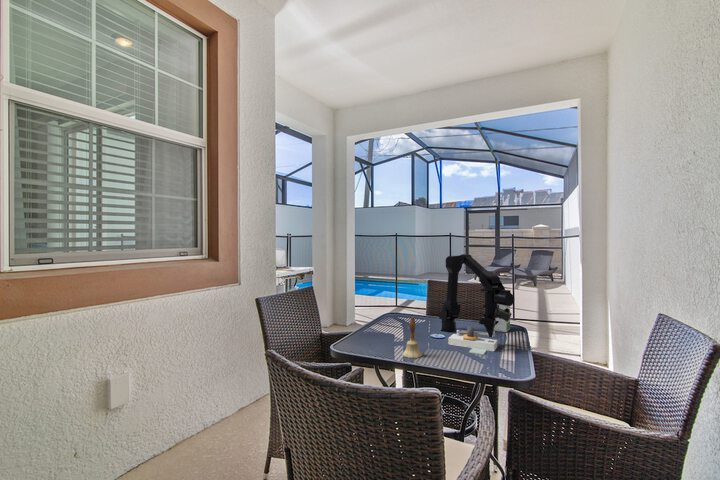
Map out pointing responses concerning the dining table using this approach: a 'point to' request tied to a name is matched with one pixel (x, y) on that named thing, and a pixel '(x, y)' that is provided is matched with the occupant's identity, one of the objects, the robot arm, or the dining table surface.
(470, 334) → the plug
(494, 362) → the dining table surface
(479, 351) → the mat
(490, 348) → the power strip
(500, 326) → the skincare box
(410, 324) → the hand bell
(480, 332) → the clip
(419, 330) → the dining table surface
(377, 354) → the dining table surface
